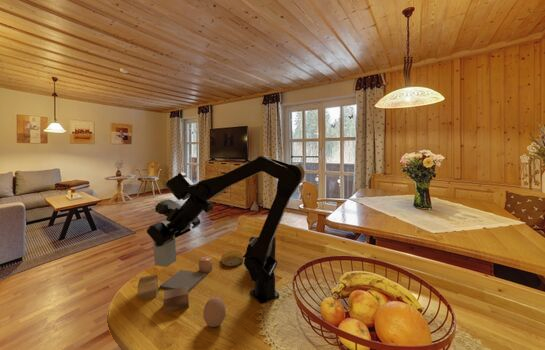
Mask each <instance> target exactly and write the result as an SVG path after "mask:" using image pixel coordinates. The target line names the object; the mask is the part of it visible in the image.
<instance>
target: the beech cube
mask: <svg viewBox="0 0 545 350" xmlns="http://www.w3.org/2000/svg"><path fill="white" fill-rule="evenodd" d="M158 290H159V280H158V274H152V275H146V276H141V277H139V281H138V283H137V294H138V295H137V296H138V301H142V300H146V299H152V298H157V296H158V292H159V291H158Z"/></svg>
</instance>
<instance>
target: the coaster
mask: <svg viewBox="0 0 545 350" xmlns="http://www.w3.org/2000/svg"><path fill="white" fill-rule="evenodd" d="M206 276H207V273H200V272H199V271H191V270H184V269H180V270H178V271H177V272H176V273H175V274H173V275H172V276H170V277H169V278H168V279H166V280H165V281H164V282H162V283H161V284H160V285H159V289H160V288H161V289H165V290H170V289H175V288H180V287H185V286H188V293H190V291H192V290H193V288H195V287H196V286H197V285H198V284H199V283H200V282H201V281H202V280H203V279H204V278H206Z"/></svg>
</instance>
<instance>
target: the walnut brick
mask: <svg viewBox="0 0 545 350" xmlns="http://www.w3.org/2000/svg"><path fill="white" fill-rule="evenodd" d="M162 301H163V314H168V313H171V312H175V311H176V312H177V311H180V310H184V309H188V308H190V305H189V304H190V303H189V292H188V286H185V287H180V288H175V289H165V290H164V291H163V296H162Z"/></svg>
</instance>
